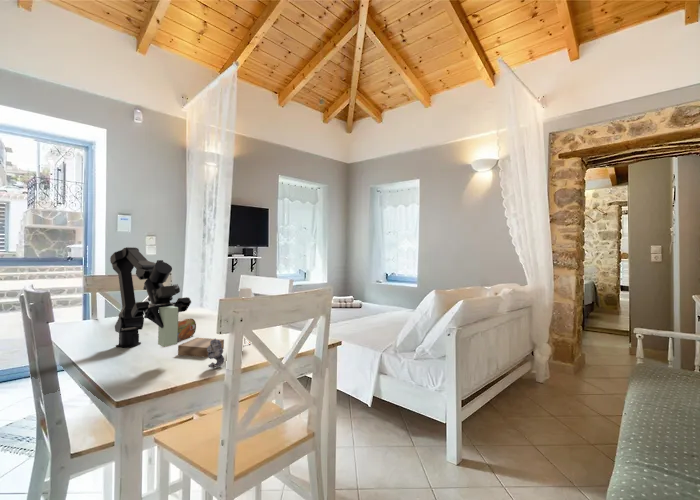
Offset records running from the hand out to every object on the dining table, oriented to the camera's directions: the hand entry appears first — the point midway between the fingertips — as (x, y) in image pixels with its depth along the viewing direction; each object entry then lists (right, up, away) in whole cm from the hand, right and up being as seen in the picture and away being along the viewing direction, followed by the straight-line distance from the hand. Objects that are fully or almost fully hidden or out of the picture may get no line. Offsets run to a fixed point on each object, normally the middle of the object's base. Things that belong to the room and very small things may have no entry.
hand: (170, 326), depth 120 cm
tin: (-12, -13, +34) cm, 38 cm away
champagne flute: (+17, -14, +28) cm, 36 cm away
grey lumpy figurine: (+17, -14, -1) cm, 22 cm away
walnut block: (+4, -14, +16) cm, 21 cm away
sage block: (-1, -7, +1) cm, 7 cm away
